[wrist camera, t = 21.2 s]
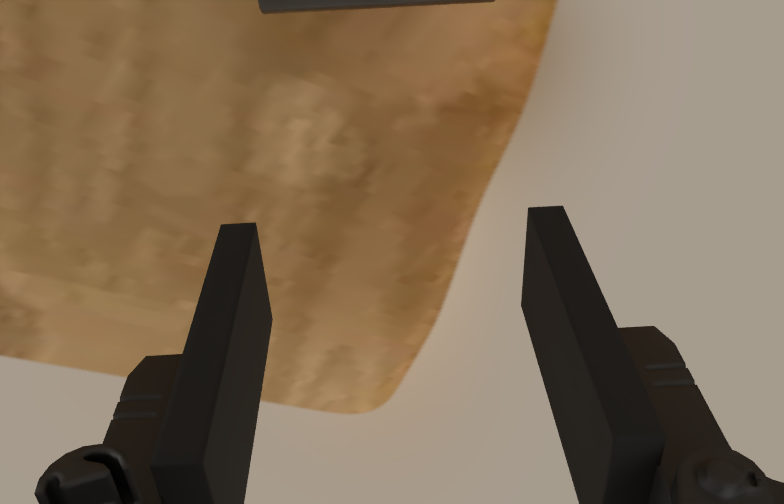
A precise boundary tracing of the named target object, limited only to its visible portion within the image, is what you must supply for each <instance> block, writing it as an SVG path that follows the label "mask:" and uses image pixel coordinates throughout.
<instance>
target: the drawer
mask: <svg viewBox="0 0 784 504" xmlns="http://www.w3.org/2000/svg"><path fill="white" fill-rule="evenodd" d="M494 1H495V0H258V3H259V7H260V10H261V12H262V13H263V14H279V13H297V12H316V11H335V10H353V9H372V8H391V7H409V6H428V5H447V4H465V3H484V2H494Z"/></svg>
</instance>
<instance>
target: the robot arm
mask: <svg viewBox="0 0 784 504" xmlns="http://www.w3.org/2000/svg"><path fill="white" fill-rule="evenodd" d="M521 307H522V310H523V313H524V317H525V320H526V324H527V327H528V330H529V334H530V337H531V341H532V344H533V348H534V351H535V354H536V358H537V361H538V365H539V368H540V371H541V375H542V378H543V382H544V385H545V388H546V392H547V395H548V398H549V402H550V405H551V409H552V412H553V416H554V419H555V423H556V426H557V429H558V433H559V436H560V439H561V443H562V447H563V450H564V453H565V457H566V460H567V463H568V467H569V470H570V473H571V477H572V481H573V484H574V487H575V491H576V494H577V498H578V501H579V504H784V483H782V482H779V481H775V480H772V479H770V478H768V477H766V476H765V474H764V473H763V472H762V471H761V469H760V468H759V467H758V466H757V465H756V464H755V463H754V462H753V461H752V460H750V459H748V458H747V457H745V456H743V455H742V454H740V453H738V452H737V451H734V450H732V449H731V447H730V446H729V444H728V442H727V441H726V439H725V437H724V435H723V433H722V431H721V429H720V427H719V426H718V424H717V422H716V420H715V418H714V416H713V414H712V412H711V411H710V409H709V407H708V405H707V403H706V401H705V399H704V398H703V396H702V394H701V392H700V390H699V388H698V386H697V385H695V384H694V379H693V377H692V375H691V373H690V371H689V370H688V368H686V366H685V362H684V360H683V358H682V356H681V355H680V353H679V351H678V349H677V347H676V345H675V344H674V343H673V342H672V341H671V340H670V339H669V338H668V337H666V336H665V335H664V334H663V333H662V332H660V331H659V330H658V329H657V328H656V327H654V326H644V327H626V328H618V327H617V325H616V323H615V320H614V318H613V316H612V314H611V312H610V310H609V307H608V305H607V303H606V300H605V298H604V296H603V294H602V292H601V289H600V287H599V285H598V283H597V281H596V278H595V276H594V274H593V272H592V270H591V267H590V265H589V263H588V261H587V258H586V256H585V254H584V252H583V250H582V247H581V245H580V243H579V241H578V238H577V236H576V234H575V232H574V230H573V227H572V225H571V223H570V221H569V218H568V216H567V214H566V212H565V210H564V207H563V206H550V207H549V206H548V207H532V208H531V207H530V208H528V217H527V231H526V246H525V259H524V273H523V287H522V301H521ZM272 320H273V319H272V313H271V307H270V302H269V296H268V290H267V284H266V279H265V273H264V267H263V261H262V255H261V250H260V244H259V238H258V232H257V227H256V223H240V224H222V225H221V227H220V230H219V233H218V237H217V240H216V243H215V247H214V250H213V253H212V257H211V260H210V264H209V267H208V270H207V274H206V277H205V280H204V284H203V287H202V290H201V294H200V297H199V301H198V304H197V307H196V311H195V314H194V317H193V321H192V324H191V327H190V331H189V334H188V337H187V341H186V344H185V348H184V351H183V354H176V355H158V356H146V357H145V358H144V359H143V360H142V361H141V362H140V363H139V364H138V366H137V367H136V368H135V369H134V370H133V371H132V372H131V373H130V374H129V375H128V377H127V380H126V382H125V385H124V388H123V390H122V393H121V396H120V402H118V404H117V407H116V409H115V412H114V414H113V420H111V422H110V425H109V428H108V430H107V433H106V436H105V439H104V441H103V444H98V445H91V446H83V447H81V448H78V449H76V450H74V451H71V452H69V453H67V454H65V455H63V456H62V457H61V458H59V459H58V460H57V461H55V462H54V463H52V464H51V465H50V466H49V467H48V469H47V470H46V471H45V472H44V474H43V475H42V476H41V477H40V479H39V481H38V484H37V487H36V491H35V496H36V498H37V500H38V502H39V504H244V499H245V493H246V487H247V479H248V474H249V467H250V461H251V454H252V448H253V442H254V435H255V429H256V423H257V416H258V410H259V403H260V397H261V391H262V384H263V378H264V371H265V365H266V359H267V352H268V346H269V339H270V333H271V326H272Z"/></svg>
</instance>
